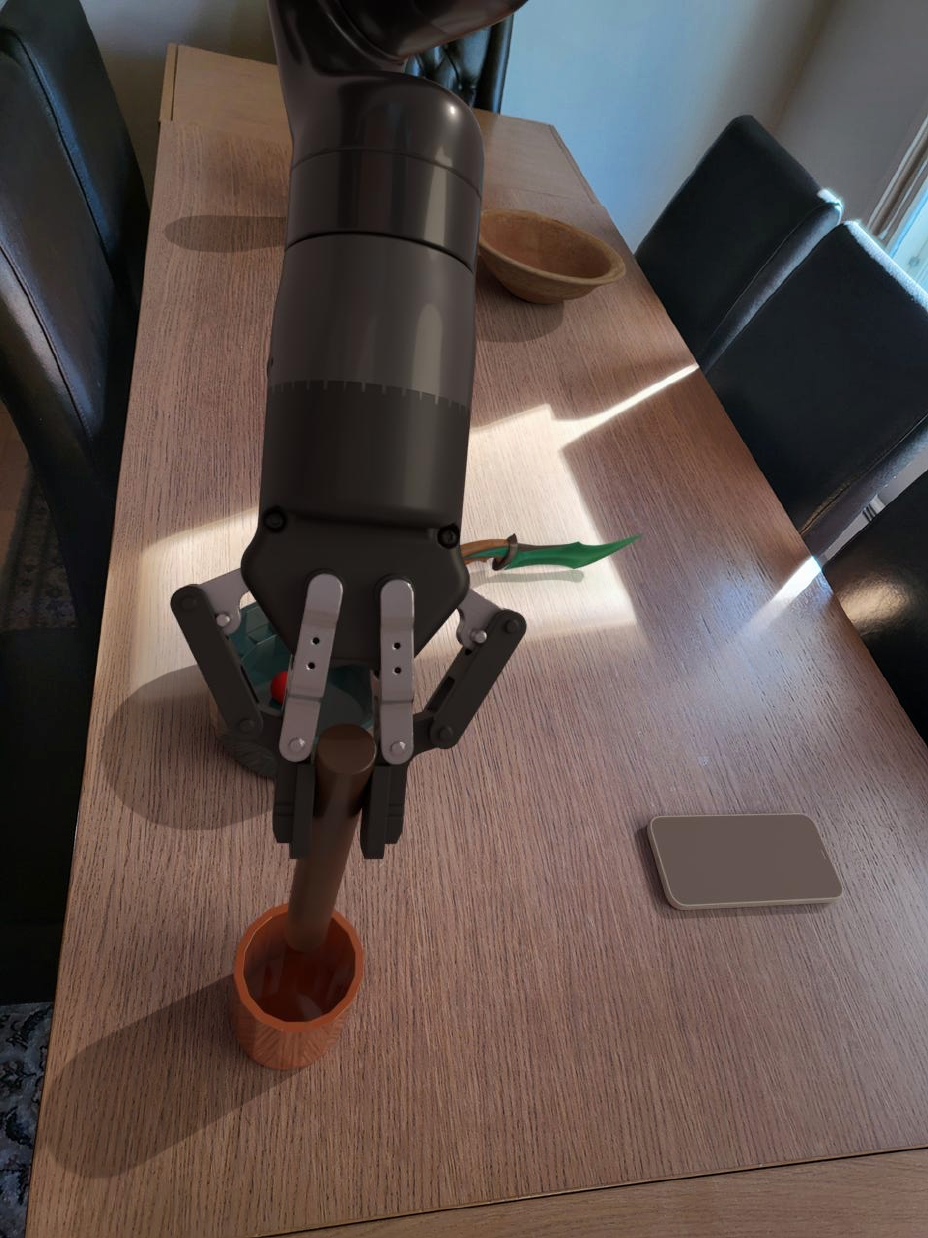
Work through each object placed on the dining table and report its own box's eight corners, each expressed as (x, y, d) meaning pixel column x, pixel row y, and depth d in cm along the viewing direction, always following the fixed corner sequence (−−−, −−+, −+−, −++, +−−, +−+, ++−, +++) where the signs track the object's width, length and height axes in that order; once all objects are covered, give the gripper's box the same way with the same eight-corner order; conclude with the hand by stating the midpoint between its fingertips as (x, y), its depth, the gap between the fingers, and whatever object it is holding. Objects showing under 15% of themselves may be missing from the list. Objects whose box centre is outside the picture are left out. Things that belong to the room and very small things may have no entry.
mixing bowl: (240, 811, 59) (242, 767, 55) (189, 659, 66) (188, 610, 62) (419, 757, 65) (434, 714, 61) (354, 624, 73) (363, 577, 68)
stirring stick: (291, 959, 42) (328, 781, 29) (278, 919, 43) (308, 730, 30) (332, 943, 43) (386, 764, 30) (318, 904, 44) (364, 716, 31)
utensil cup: (250, 1091, 48) (256, 1055, 42) (217, 975, 52) (218, 926, 46) (362, 1040, 51) (382, 1000, 45) (324, 934, 55) (337, 884, 49)
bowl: (637, 312, 126) (658, 261, 120) (541, 350, 112) (559, 295, 106) (524, 239, 134) (538, 188, 128) (420, 266, 120) (431, 211, 114)
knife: (434, 581, 78) (445, 543, 75) (429, 567, 80) (440, 529, 76) (630, 573, 86) (649, 538, 82) (623, 560, 87) (642, 525, 83)
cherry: (259, 687, 63) (289, 695, 62) (276, 661, 65) (305, 669, 64) (269, 706, 65) (298, 714, 64) (285, 680, 67) (313, 688, 66)
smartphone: (646, 815, 66) (810, 812, 69) (642, 821, 66) (805, 817, 70) (674, 907, 61) (848, 898, 64) (669, 912, 61) (842, 903, 65)
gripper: (161, 344, 25) (127, 894, 26) (583, 403, 29) (537, 890, 30) (184, 390, 33) (157, 820, 34) (518, 433, 36) (484, 823, 37)
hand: (335, 850), depth 32 cm, fingers closed on stirring stick, 2 cm apart
